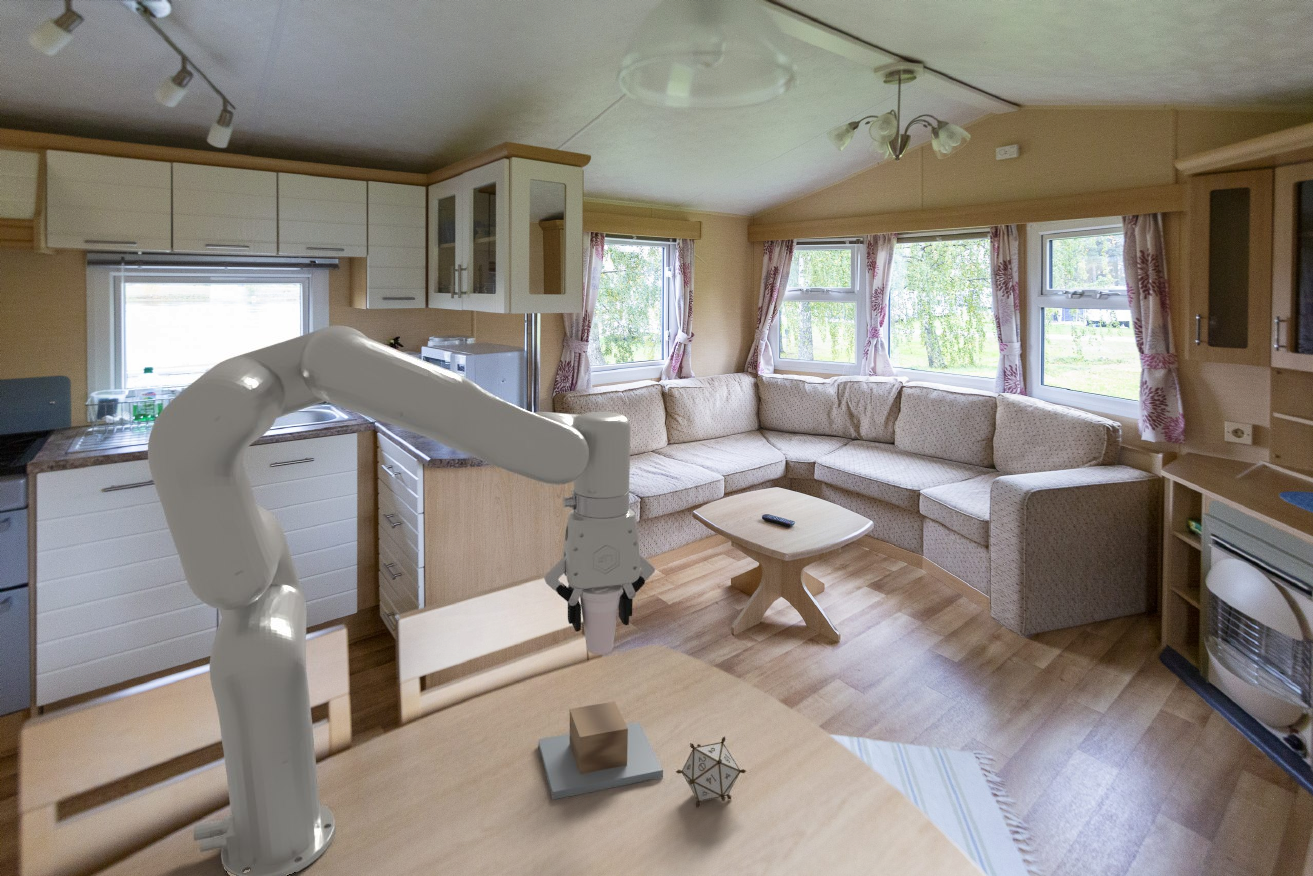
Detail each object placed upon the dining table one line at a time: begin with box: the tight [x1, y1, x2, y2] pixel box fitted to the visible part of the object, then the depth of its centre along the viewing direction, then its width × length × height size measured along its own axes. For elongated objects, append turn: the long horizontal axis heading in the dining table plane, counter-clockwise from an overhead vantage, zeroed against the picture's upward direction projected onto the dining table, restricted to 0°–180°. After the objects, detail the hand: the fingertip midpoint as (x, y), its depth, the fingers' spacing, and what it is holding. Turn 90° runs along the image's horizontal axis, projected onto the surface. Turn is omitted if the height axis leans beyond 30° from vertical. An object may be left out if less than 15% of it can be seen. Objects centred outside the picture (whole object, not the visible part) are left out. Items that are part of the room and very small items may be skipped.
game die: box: [675, 736, 747, 808], centre depth 100 cm, size 9×8×10 cm
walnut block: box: [569, 700, 628, 774], centre depth 106 cm, size 7×7×6 cm
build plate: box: [538, 721, 664, 800], centre depth 107 cm, size 16×12×1 cm
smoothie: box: [579, 585, 623, 655], centre depth 101 cm, size 6×6×14 cm
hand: (600, 623), depth 102 cm, fingers closed on smoothie, 6 cm apart
